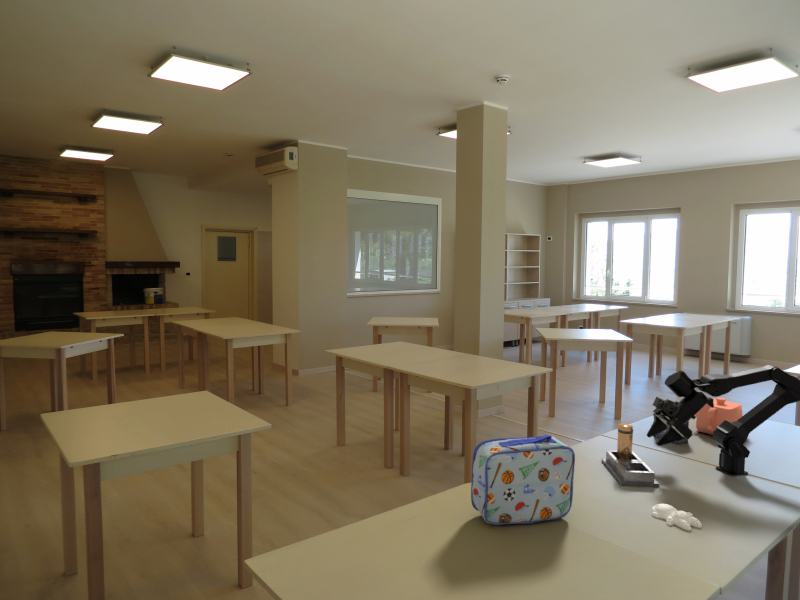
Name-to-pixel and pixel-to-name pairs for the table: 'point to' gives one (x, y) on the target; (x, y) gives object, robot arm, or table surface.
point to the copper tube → (624, 441)
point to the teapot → (717, 415)
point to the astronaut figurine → (675, 516)
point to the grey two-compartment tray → (630, 470)
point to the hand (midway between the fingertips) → (652, 440)
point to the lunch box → (522, 479)
